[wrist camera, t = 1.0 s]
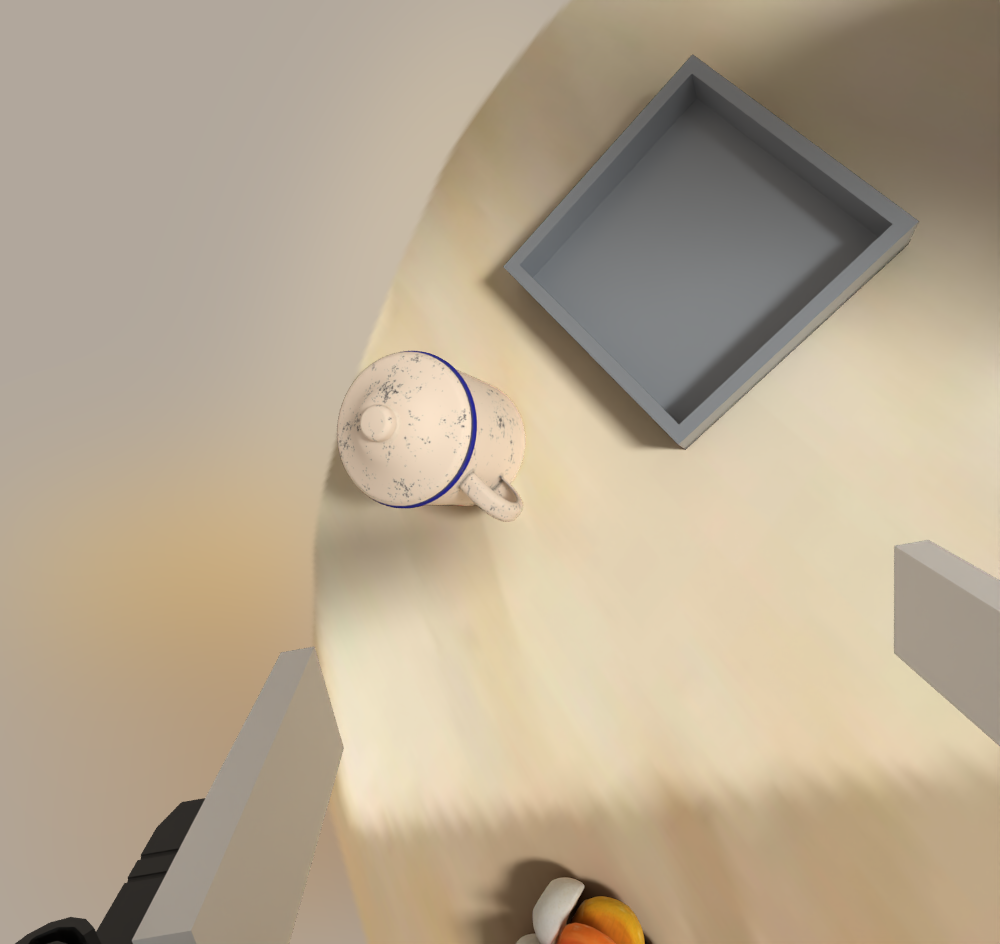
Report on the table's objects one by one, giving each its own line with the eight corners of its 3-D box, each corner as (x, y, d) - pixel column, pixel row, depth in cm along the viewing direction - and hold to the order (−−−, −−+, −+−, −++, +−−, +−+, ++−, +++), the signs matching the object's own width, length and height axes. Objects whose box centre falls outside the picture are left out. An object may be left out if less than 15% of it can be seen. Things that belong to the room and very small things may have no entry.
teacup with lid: (391, 451, 48) (277, 433, 37) (466, 353, 46) (369, 303, 35) (501, 566, 44) (410, 583, 33) (589, 464, 41) (523, 446, 31)
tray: (698, 85, 40) (692, 54, 37) (908, 244, 35) (918, 221, 32) (520, 282, 44) (503, 266, 41) (685, 449, 39) (678, 444, 36)
